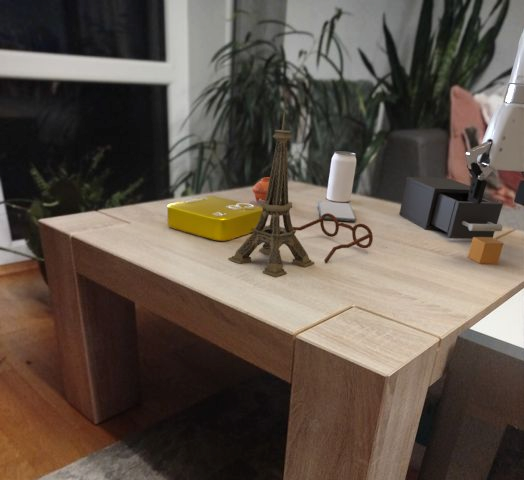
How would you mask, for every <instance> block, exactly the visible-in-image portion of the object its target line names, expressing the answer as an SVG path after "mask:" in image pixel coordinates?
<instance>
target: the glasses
mask: <svg viewBox="0 0 524 480" xmlns="http://www.w3.org/2000/svg"><path fill="white" fill-rule="evenodd" d="M326 216H328V217H331V218H332V219H333V220H332V221H333V222H334V225H335V230H334V233H331V232H328V231H327V230H326V228H325V225H324V224H325V223H324V220H325V219H324V218H325V217H326ZM319 223H320V228H321V231H322V232H323V234H324V235H326V236H327V237H330V238H333V237H336V236H337V235H338V233H339V229H340V227H343V228H346V229H349V230H350V231H351V235H352V240H353V241H351V242H349V243H346V244H339V245H336V246H332V249H330V251H329V252H328V254H327V255H326V257H325V259H323V260H324V263H326V264H328V262H329V261H330V259H331V258H332V256H333V255H334V254H335V252H336V251H338V250H341V249H350V248H351V247H354V246H355V245H356V246H357V247H359V248H361V249H368V248H370V247H371V246H372V244H373V241H374V237H373V232H372V230H371V228H370V227H369V226H368V225H367V224H364V223H357V224H355V225H353V226H352V225H351V224H348V223H345V222H340V221H339V220H337V219H336V217H335V216H334V215H332V214H330V213H326V214H324V215H322V217H321V218H320V217H319V218H317V219H315V220H312V221H311V222H308V223H306V224H303V225H301V226H299V227H298V226H293V229H294V230H296V231H298V232H299V231H303V230H305V229H308V228H309V227H312V226H314V225H316V224H319ZM358 228H363V229H364V230H366V231H367V234H365V235H363V236H361V237H359V238H357V237H356V234H357V233H356V232H357V229H358ZM365 240H368V242H367V243H366V244H362V242H364V241H365Z"/></svg>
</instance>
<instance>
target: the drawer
mask: <svg viewBox="0 0 524 480" xmlns="http://www.w3.org/2000/svg"><path fill="white" fill-rule="evenodd" d="M468 194H469V193H443V192H437V195H436V199H435V204H434V208H433V212H432V217H431V221H430V224H432V225H434V226H436V227H438V228H440V229H441V230H440V231H443V232H445V233H446V234H447V237H448V238H457V239H458V238H459V239H460V238H462V239H464V238H465V239H466V238H468V239H469V238H471V239H473V237H492V238H494V235H495V232H501V231H502V230H503V224H501V223H498V222H499V219H500V216H501V213H502V209H503V206H504V203H502V202H497V201H496V202H494V201H491V200H488V199H486V198H484V197H483V198H482V201H481V203H480V204H476V203H473V202H471V201H468V197H469V195H468Z"/></svg>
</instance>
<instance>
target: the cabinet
mask: <svg viewBox="0 0 524 480" xmlns="http://www.w3.org/2000/svg"><path fill="white" fill-rule="evenodd" d="M470 187H471V185H469V184H466V183H463V182H460V181H457V180H455V179H453V178H444V177H442V178H441V177H425V176H424V177H422V176H406V180H405V185H404V189H403V194H402V195H403V196H402V199H401V204H400V209H399V215H400V216H401V217H403V218H405V219H407V220H408V221H410V222H412V223H414V224H415V225H417V226H419V227H420V228H422V229H424V230H431V231H433V230H434V231H435V230H439V231H442V230H441V229H440V228H438V227H436V226H434V225H432V224H430V221H431V217H432V212H433V208H434V204H435V199H436V195H437V192H443V193H469V190H470Z"/></svg>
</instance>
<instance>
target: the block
mask: <svg viewBox="0 0 524 480" xmlns="http://www.w3.org/2000/svg"><path fill="white" fill-rule="evenodd" d="M504 245H505V244H504V242H502V241H500V240H498V239H497V238H494V237H493V238H492V237H473V238H472V240H471V243H470V247H469V250H468V254H467V258H469V259H471V260H472V261H474V262H476V263H478V264H479V265H482V264H483V265H486V264H487V265H488V264H489V265H494V264H495V265H498V263H499V260H500V257H501V254H502V251H503V248H504Z"/></svg>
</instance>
